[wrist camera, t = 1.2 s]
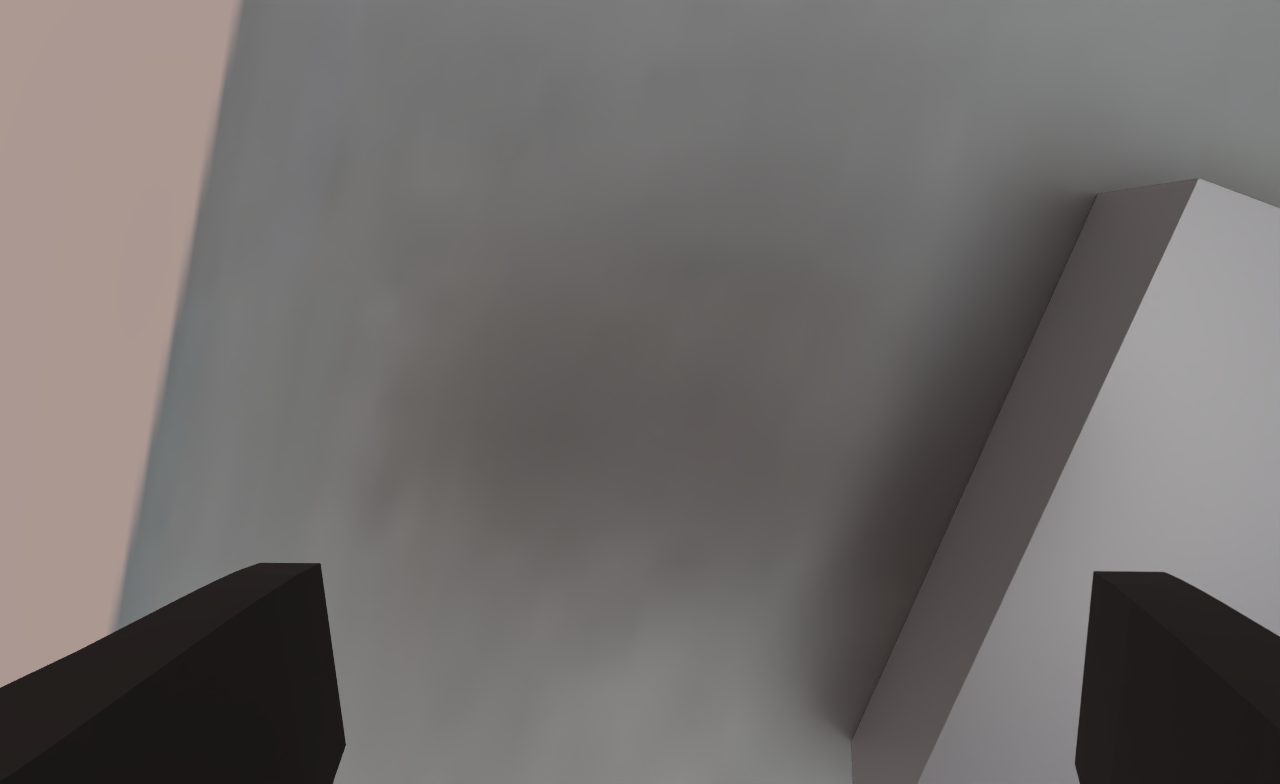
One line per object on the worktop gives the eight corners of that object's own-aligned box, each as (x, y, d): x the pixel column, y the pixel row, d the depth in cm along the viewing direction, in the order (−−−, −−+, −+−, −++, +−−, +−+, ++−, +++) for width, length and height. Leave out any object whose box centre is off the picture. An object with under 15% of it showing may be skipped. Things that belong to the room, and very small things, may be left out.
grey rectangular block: (1401, 307, 22) (1625, 336, 16) (1120, 858, 24) (1219, 1073, 18) (1097, 193, 23) (1199, 177, 17) (851, 742, 25) (857, 911, 19)
